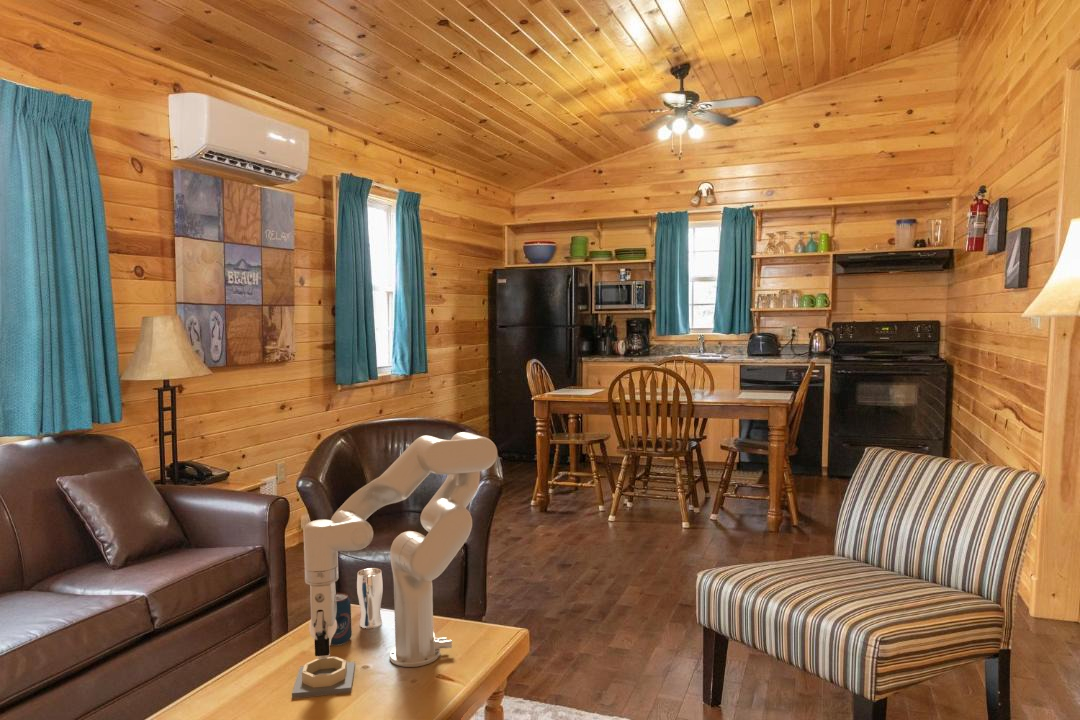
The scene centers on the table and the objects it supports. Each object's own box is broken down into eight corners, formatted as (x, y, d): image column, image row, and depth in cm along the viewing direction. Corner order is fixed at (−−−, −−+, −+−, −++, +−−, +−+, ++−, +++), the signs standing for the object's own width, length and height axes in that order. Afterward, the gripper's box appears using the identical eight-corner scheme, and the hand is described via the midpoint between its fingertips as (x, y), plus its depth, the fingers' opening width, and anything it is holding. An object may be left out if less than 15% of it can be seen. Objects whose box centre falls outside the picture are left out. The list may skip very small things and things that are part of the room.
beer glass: (362, 619, 211) (360, 567, 210) (386, 619, 210) (384, 567, 209) (355, 629, 204) (353, 576, 203) (380, 629, 203) (378, 576, 203)
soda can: (328, 649, 192) (326, 603, 191) (322, 639, 198) (320, 595, 197) (354, 642, 196) (353, 598, 195) (347, 633, 202) (346, 590, 201)
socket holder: (355, 666, 183) (354, 651, 182) (351, 692, 170) (350, 676, 170) (300, 671, 180) (299, 656, 180) (292, 698, 168) (291, 682, 167)
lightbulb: (330, 666, 171) (328, 619, 170) (304, 664, 172) (303, 617, 172) (342, 653, 177) (341, 608, 176) (318, 651, 178) (317, 607, 178)
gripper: (334, 585, 166) (336, 664, 167) (341, 560, 183) (343, 632, 184) (299, 588, 164) (302, 667, 165) (309, 562, 181) (312, 634, 182)
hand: (323, 648), depth 175 cm, fingers closed on lightbulb, 5 cm apart
